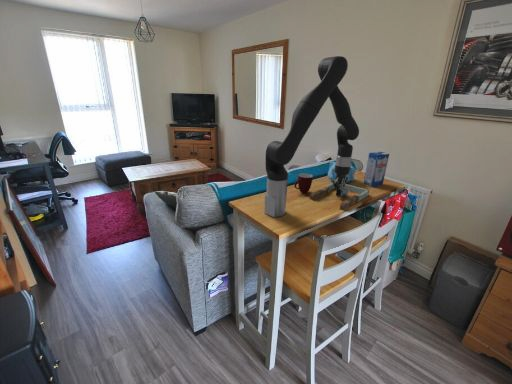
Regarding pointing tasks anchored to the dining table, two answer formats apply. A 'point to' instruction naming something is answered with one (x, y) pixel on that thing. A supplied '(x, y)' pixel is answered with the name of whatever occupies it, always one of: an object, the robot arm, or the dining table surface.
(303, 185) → the mug
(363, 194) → the corral
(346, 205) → the slot rails
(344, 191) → the chip puck
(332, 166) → the decorative pot
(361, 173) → the dining table surface
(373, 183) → the milk carton
